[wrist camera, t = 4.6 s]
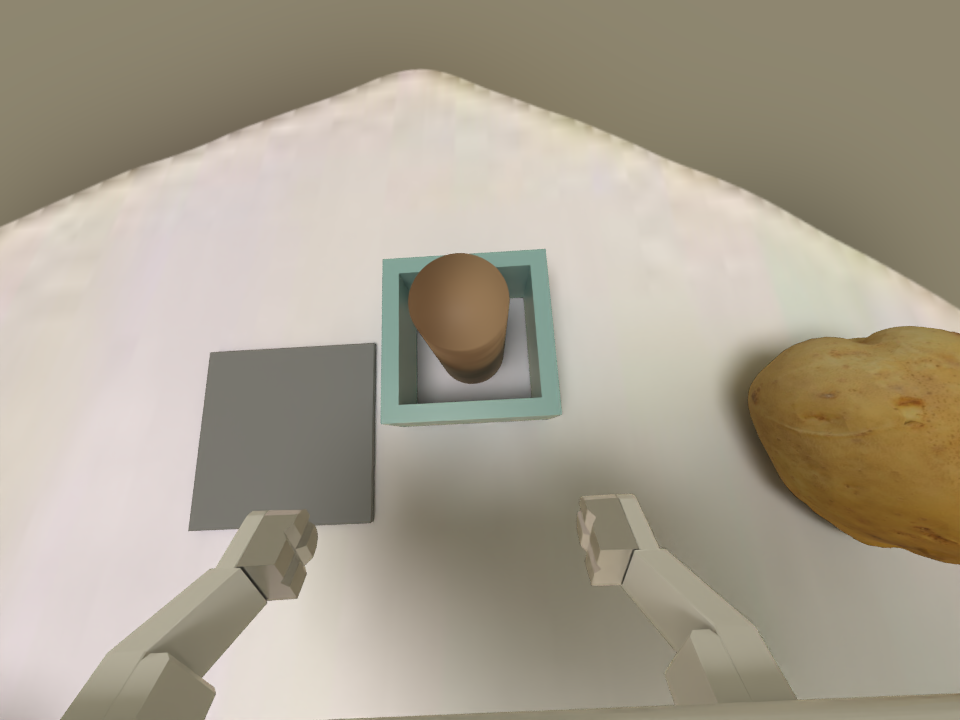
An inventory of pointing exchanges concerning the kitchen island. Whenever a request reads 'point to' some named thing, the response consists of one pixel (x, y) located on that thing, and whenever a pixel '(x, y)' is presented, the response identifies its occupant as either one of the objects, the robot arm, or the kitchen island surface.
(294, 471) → the mat
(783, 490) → the kitchen island surface
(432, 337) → the walnut peg
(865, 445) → the potato
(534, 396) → the tub
